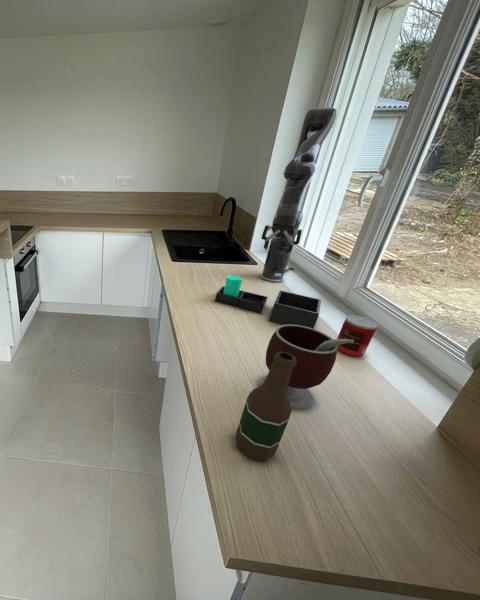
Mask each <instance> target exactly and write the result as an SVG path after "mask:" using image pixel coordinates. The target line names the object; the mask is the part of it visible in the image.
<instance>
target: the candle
mask: <svg viewBox="0 0 480 600" xmlns="http://www.w3.org/2000/svg"><path fill="white" fill-rule="evenodd" d="M242 282H243V278H242V277H240V276H238V275H236V274H234V275H231V274H228V275H227V276H226V279H225V284H224V292H223V294H226V295H230V296H234V297H238V295H239V291H240V290H241V288H242V287H241V286H242Z"/></svg>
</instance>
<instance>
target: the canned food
mask: <svg viewBox="0 0 480 600" xmlns="http://www.w3.org/2000/svg"><path fill="white" fill-rule="evenodd" d="M378 327H379V326H378V323H377V322H376V321H374V320H372V319H370V318H368V317H365V316H361V315H357V314H356V315H355V314H350V315H347V316H346V317H345V319H344V321H343V324H342V326H341V328H340V331H339V333H338V335H337V337H336V339H349V340H351V339H352V340H354V343H345V344H340V345H338V349H337V352H338V353H340V354H342V355H345V356H347V357H351V358H361V357H363V356H364V355H365V353H366V351H367V349H368V348H369V345H370V343H371V341H372V339H373V337H374V335H375V333H376V330H377V329H378Z"/></svg>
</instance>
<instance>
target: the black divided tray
mask: <svg viewBox="0 0 480 600" xmlns="http://www.w3.org/2000/svg"><path fill="white" fill-rule="evenodd" d="M224 287H225V285H223V286H221V287H220V288H219V290H218V291H217V292H216V295H215V299H214V302H215V303H218V304H223V305H227V306H230V307H234V308H237V309H240V310H246V311H249V312H252V313H256V314H260V315H261V314H262V313H263V311H264V308H265V307H266V304H267V301H268V296H265V295H262V294H258V293H253V292H248V291H246V290H241V289H240V291H239V295H238V297H234V296H230V295H226V294H223V292H224Z"/></svg>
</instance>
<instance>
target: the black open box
mask: <svg viewBox="0 0 480 600" xmlns="http://www.w3.org/2000/svg"><path fill="white" fill-rule="evenodd" d="M321 303H322V299H320V298H317V297H316V298H315V297H311V296H308V295H304V294H303V295H302V294H298V293H293V292H290V291H284V290H279V291H278V293H277V296H276V298H275V300H274V303H273V306H272V309H271V313H270V315H269V319H268V322H270V323H273V324H277V325H280V326H281V325H287V324H293V325H301V326H305V327H309V328H312V329H315V326H316V323H317V320H318V318H319V315H320V311H321V306H322V305H321Z"/></svg>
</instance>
